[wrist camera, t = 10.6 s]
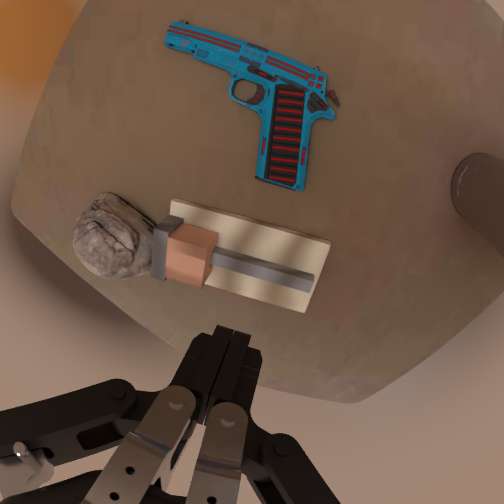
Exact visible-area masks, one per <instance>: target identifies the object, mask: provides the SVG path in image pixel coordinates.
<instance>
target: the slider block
mask: <svg viewBox="0 0 504 504" xmlns="http://www.w3.org/2000/svg"><path fill="white" fill-rule="evenodd" d="M218 235H219V233H216V232H212V231H209V230H205V229H202V228H198V227H195V226H191V225H187V224H184V223H183V224H182V225H180V226H179V227H178V228H177V229H176V230H175V231H174V232H173V233H172V234H171V235H170V236H169V237H168V244H167V255H166V267H165V277H166V278H169V279H172V280H175V281H178V282H181V283H184V284H187V285H190V286H193V287H196V288H199V289H201V288H202V287H203V285H204V283H205V282H206V280H207V278H208V277H209V275H210V273H211V272H212V268H213V265H211V264H210V260H211V254H212V250H213V249H214V248H215V246H216V245H217V240H218Z"/></svg>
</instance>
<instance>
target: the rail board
mask: <svg viewBox="0 0 504 504" xmlns="http://www.w3.org/2000/svg"><path fill="white" fill-rule="evenodd" d="M183 223H184V224H187V225H191V226H195V227H198V228H202V229H205V230H209V231H212V232H216V233H219V235H218V240H217V245H216V246H215V248H214V249H213V250H212V254H211V260H210V264H211V265H213V268H212V272H211V273H210V275H209V277H208V278H207V280H206V282H205V283H204V284H207V285H210V286H214V287H217V288H220V289H223V290H227V291H230V292H233V293H236V294H240V295H243V296H246V297H250V298H253V299H257V300H260V301H263V302H267V303H270V304H274V305H277V306H281V307H284V308H288V309H291V310H295V311H298V312H302V313H305V311H306V309H307V306H308V304H309V301H310V299H311V296H312V294H313V291H314V289H315V286H316V283H317V281H318V278H319V276H320V273H321V270H322V268H323V265H324V262H325V260H326V257H327V254H328V252H329V249H330V246H331V241H328V240H325V239H321V238H318V237H315V236H311V235H308V234H304V233H301V232H298V231H294V230H291V229H287V228H284V227H280V226H277V225H273V224H270V223H266V222H263V221H259V220H255V219H252V218H248V217H245V216H241V215H237V214H234V213H230V212H226V211H223V210H219V209H215V208H212V207H208V206H204V205H200V204H197V203H193V202H189V201H185V200H181V199H177V198H174V199H173V200H171V207H170V215H169V216H168V217H167V218H166V219H165V220H163V221H162V222H161V223H160V224H159V225H157V226H156V227H155V228H154V231H153V246H152V264H151V277H154V278H157V279H160V280H163V281H165V280H166V279H167V278H166V277H165V267H166V255H167V244H168V237H169V236H170V235H171V234H172V233H173V232H174V231H175V230H176V229H177V228H178V227H179V226H180V225H182V224H183Z"/></svg>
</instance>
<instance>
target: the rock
mask: <svg viewBox="0 0 504 504" xmlns="http://www.w3.org/2000/svg"><path fill="white" fill-rule="evenodd" d="M156 226H157V225H156V224H155V223H153V222H152V221H150V220H149V219H148V218H146V217H145V216H144V215H143V216H142V215H141V214H140V213H138V212H137V211H136V210H135V209H133V208H132V207H130V206H129V205H127V204H126V203H125V202H124V201H122V200H121V199H120V198H119V197H118V196H116V195H113V194H110V193H103V194H101V195H99V196H98V197H97V198H96V199H94V200H93V201H92V202H90V203H89V205H88V206H87V207H86V208H85V211H84V212H83V213H82V214H81V215H80V216H79V218H78V220H77V222H76V225H75V228H74V230H73V236H72V242H73V249H74V252H75V254H76V255H77V257H78V258H79V259H80V261H81V262H82V263H83V264H84V265H85V266H86V268H87V269H88V270H90V271H91V272H92V273H93V274H94V275H96V276H100V277H102V278H107V279H128V278H130V277H144V276H147V275H151V264H152V246H153V231H154V228H155V227H156Z"/></svg>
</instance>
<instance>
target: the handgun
mask: <svg viewBox="0 0 504 504" xmlns="http://www.w3.org/2000/svg"><path fill="white" fill-rule="evenodd" d="M186 23H187V21H183V20H180V21H178V22H173V23H172V24H170V26H169V28H168V30H167V32H166V33H167V37H166V38H165V41H164V43H165V46H166V47H169V48H173V49H177V50H180V51H183V52H187V53H190V54H193V55H194V58H195V59H198V60H201V61H204V62H206V63H209V64H212V65H215V66H217V67H220V68H223V69H225V70H227V71H228V72H229V73H230V75H231V77H232V79H231V82H230V85H229V88H228V91H229V97H230V98H231V99H232V100H233V101H235V102H237V103H239V104H241V105H243V106H246V107H248V108H250V109H252V110H254V111H256V112H258V114H259V116H260V118H261V120H262V128H261V136H260V144H259V152H258V160H257V168H256V176H255V179H257V180H260V181H262V182H266V183H269V184H273V185H277V186H280V187H283V188H287V189H290V190H294V191H296V190H299V191H304V187H305V178H306V169H307V160H308V151H309V142H310V132H311V125H312V123H313V122H314V121H315V120H316V119H318V118H321V117H324V118H327V119H329V120H333V119H335V118H336V117H335V113H334V111H333V110H332V109H331V108H330V107H329V106H328V105H327V103H326V99H325V95H329V96H331V98H332V99H333V101H334V102H335V104H336V105H337V107H338V106H340V105H339V102H338V99H337V97H336V94H335V91H334V90H329V91H325V87H326V76H327V75H326V74H324V73H322V72H320V71H319V70H318V69H319V67H318V66H316V68H311V67H309V66H307V65H304V64H302V63H300V62H297V61H295V60H293V59H290V58H288V57H286V56H283V55H281V54H278V53H275V52H273V51H270V50H268V49H265V48H262V47H260V46H257V45H254V44H251V43H248V42H245V41H242V40H239V39H236V38H233V37H230V36H227V35H224V34H220V33H217V32H213V31H210V30H206V29H203V28H199V27H195V26H191V25H187V24H186ZM241 79H246V80H249V81H252V82H255V83H257V92H256V93H255V95H254V96H253V98H251V99H249V100H247V101H246V102H248V103H249V104H248V103H246V102H244V101H241V100H239V99H237V98H236V97H235V96H234V95H233V89H234V86H235V84H236V81H238V80H241Z"/></svg>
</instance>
